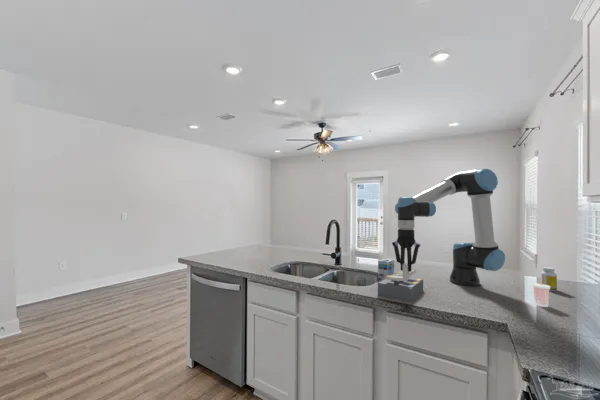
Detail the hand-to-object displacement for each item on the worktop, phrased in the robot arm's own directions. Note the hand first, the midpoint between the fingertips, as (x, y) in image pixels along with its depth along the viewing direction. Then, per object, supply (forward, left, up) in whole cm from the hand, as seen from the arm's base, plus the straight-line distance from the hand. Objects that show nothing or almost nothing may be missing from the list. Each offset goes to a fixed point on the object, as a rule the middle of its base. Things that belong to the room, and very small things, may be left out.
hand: (405, 277), depth 136 cm
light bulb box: (+22, -32, -10) cm, 40 cm away
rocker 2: (+5, -7, -1) cm, 8 cm away
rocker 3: (+5, -14, -1) cm, 15 cm away
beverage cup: (-51, -29, -10) cm, 60 cm away
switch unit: (+5, -7, -10) cm, 13 cm away
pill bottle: (-56, -63, -10) cm, 85 cm away
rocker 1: (+5, 0, -1) cm, 5 cm away
